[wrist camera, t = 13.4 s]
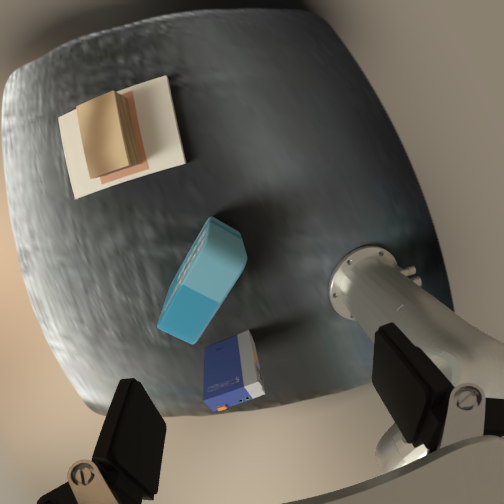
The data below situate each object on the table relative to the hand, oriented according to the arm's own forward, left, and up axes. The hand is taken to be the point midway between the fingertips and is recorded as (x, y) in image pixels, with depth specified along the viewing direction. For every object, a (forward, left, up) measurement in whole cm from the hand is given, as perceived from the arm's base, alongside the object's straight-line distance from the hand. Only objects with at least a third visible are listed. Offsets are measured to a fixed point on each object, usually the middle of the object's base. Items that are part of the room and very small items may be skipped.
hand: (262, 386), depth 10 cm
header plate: (+12, -15, -29) cm, 35 cm away
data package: (+5, +4, -30) cm, 30 cm away
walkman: (+5, +19, -30) cm, 36 cm away
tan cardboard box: (+12, -15, -28) cm, 33 cm away
